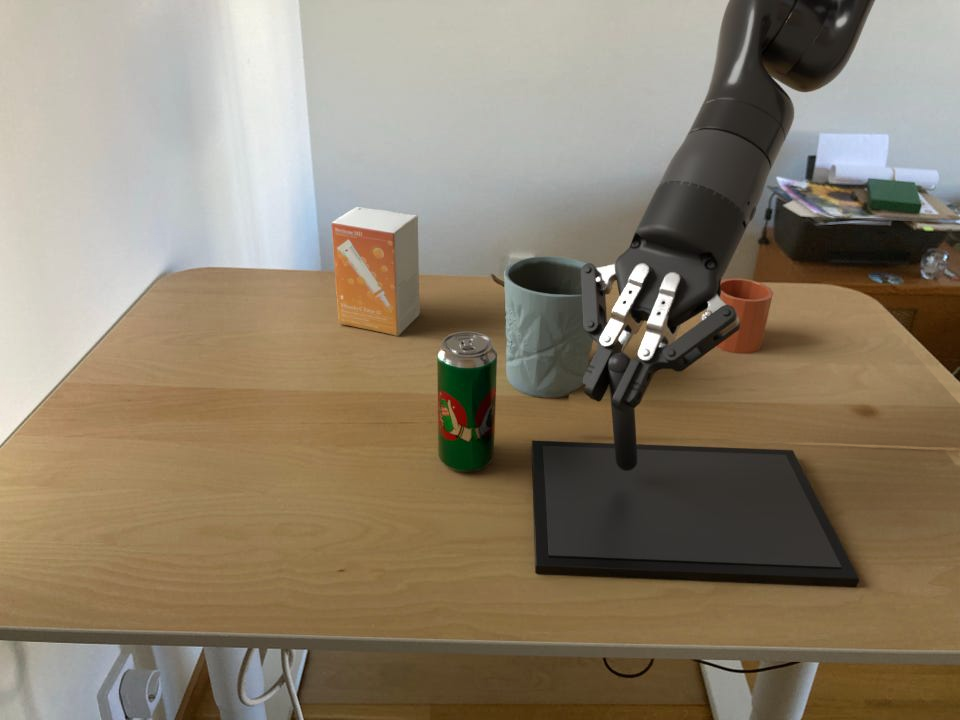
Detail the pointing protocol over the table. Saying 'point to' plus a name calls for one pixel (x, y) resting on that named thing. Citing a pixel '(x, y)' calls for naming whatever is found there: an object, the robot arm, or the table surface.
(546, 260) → the embossed blue-green cup
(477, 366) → the soda can
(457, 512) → the table surface
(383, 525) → the table surface
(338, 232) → the small box
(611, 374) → the stylus
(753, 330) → the pen pot
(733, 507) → the tablet
